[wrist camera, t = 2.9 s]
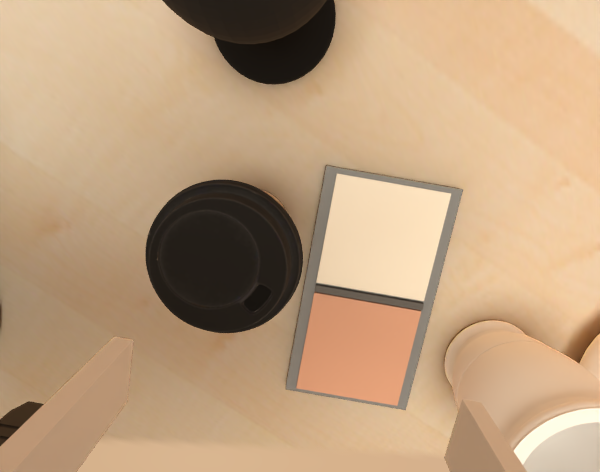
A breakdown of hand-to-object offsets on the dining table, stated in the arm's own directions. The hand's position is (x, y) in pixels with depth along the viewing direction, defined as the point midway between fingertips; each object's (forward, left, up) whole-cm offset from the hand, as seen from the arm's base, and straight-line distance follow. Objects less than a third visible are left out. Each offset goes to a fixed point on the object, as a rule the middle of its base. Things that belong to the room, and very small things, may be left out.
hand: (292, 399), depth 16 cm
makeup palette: (+6, -3, -22) cm, 24 cm away
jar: (+19, -7, -23) cm, 31 cm away
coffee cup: (-5, +2, -23) cm, 23 cm away
